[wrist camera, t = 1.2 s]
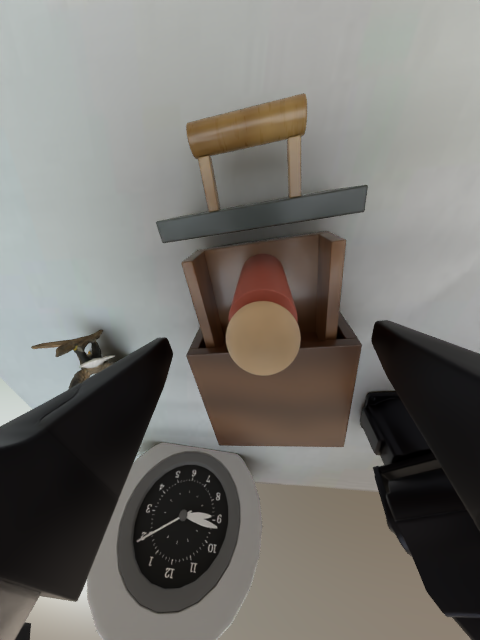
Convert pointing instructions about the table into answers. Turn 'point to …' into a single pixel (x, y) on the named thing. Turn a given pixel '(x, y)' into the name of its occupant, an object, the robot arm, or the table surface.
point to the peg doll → (263, 318)
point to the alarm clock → (177, 547)
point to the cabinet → (280, 394)
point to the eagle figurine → (81, 355)
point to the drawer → (263, 224)
